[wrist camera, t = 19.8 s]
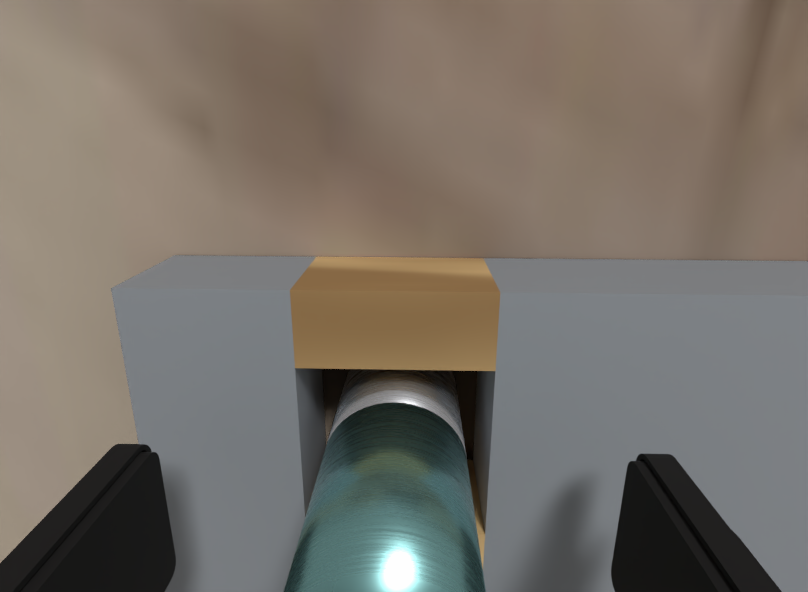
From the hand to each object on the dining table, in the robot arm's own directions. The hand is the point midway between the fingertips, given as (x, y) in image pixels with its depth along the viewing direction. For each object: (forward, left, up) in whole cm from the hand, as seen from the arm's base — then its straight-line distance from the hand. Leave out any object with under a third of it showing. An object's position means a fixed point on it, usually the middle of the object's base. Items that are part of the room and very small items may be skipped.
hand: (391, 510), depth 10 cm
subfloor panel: (-4, -5, -5) cm, 8 cm away
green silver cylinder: (0, 0, -5) cm, 5 cm away
